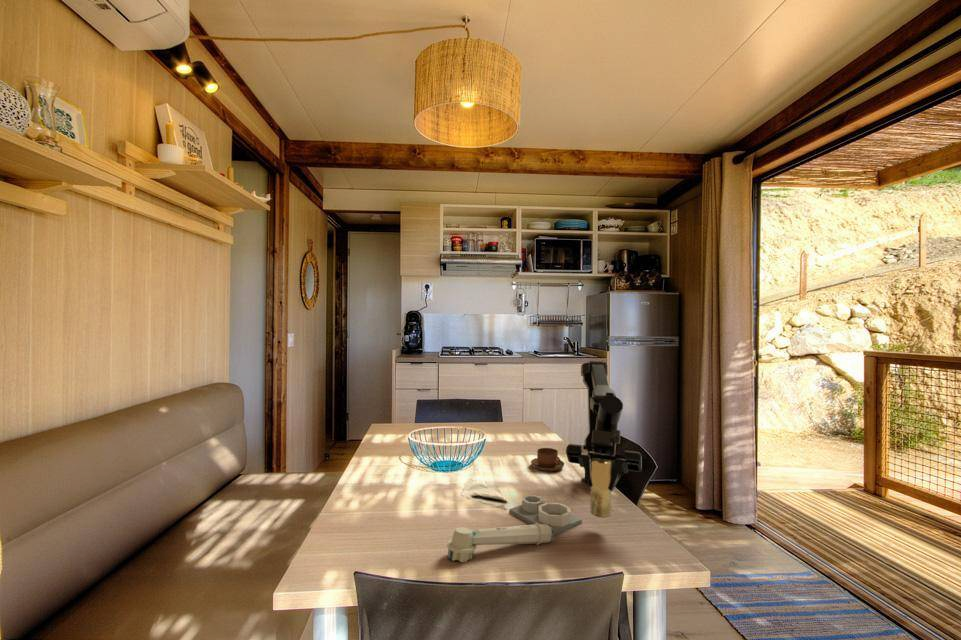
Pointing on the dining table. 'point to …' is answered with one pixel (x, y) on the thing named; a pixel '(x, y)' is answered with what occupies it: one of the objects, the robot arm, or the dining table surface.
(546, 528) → the cream long-handled tool
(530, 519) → the board
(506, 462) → the dining table surface
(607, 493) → the brass tumbler cup
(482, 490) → the cloth
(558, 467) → the cup and saucer
